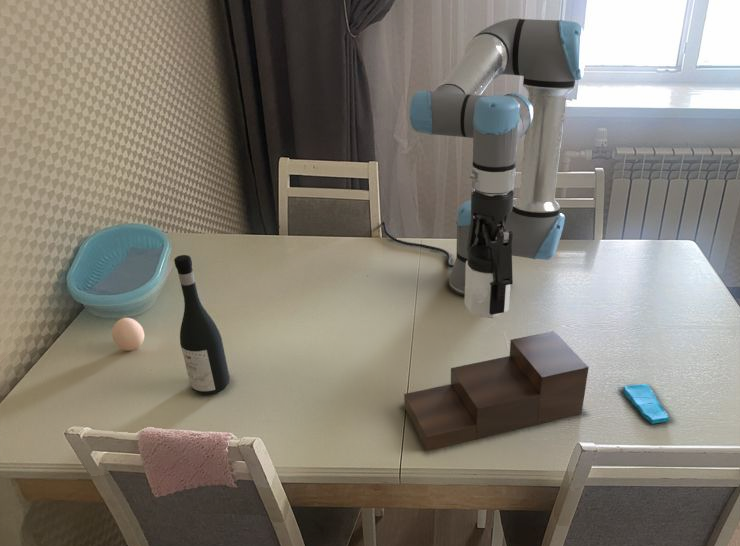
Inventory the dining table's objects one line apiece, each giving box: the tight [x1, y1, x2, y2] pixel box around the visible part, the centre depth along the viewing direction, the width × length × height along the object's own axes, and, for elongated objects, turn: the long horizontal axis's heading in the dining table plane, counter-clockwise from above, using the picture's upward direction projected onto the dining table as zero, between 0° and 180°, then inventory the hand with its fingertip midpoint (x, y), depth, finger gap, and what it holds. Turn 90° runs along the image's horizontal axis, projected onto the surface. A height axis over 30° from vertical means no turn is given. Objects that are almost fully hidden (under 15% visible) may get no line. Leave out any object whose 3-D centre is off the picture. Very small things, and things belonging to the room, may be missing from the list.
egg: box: [111, 317, 145, 352], centre depth 155 cm, size 7×7×8 cm
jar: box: [464, 244, 512, 319], centre depth 130 cm, size 9×8×12 cm
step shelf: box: [403, 330, 589, 452], centre depth 135 cm, size 14×33×12 cm, turn 110°
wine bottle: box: [173, 254, 230, 396], centre depth 137 cm, size 8×8×30 cm
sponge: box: [623, 383, 670, 425], centre depth 139 cm, size 2×12×6 cm
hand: (486, 301), depth 133 cm, fingers closed on jar, 9 cm apart
